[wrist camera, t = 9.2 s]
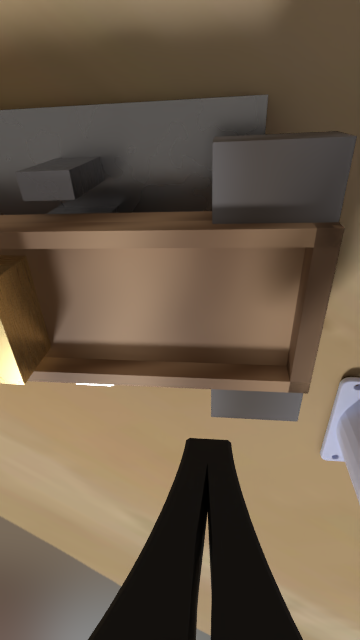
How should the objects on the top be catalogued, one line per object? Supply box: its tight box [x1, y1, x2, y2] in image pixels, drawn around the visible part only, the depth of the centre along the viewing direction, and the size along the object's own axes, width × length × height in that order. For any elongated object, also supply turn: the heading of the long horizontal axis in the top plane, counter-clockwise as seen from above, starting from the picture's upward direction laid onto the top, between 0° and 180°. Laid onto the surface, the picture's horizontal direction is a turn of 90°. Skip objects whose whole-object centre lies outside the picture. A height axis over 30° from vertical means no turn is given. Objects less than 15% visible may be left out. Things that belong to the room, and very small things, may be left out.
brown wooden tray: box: [0, 131, 357, 421], centre depth 14 cm, size 20×12×3 cm, turn 93°
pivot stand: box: [0, 95, 268, 386], centre depth 16 cm, size 16×14×5 cm
